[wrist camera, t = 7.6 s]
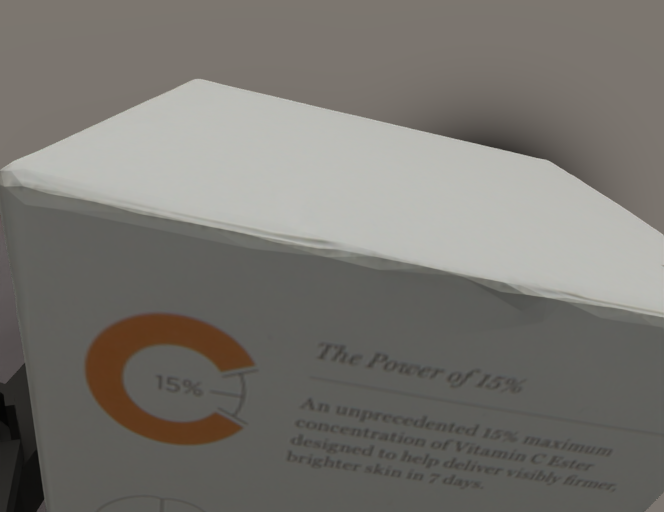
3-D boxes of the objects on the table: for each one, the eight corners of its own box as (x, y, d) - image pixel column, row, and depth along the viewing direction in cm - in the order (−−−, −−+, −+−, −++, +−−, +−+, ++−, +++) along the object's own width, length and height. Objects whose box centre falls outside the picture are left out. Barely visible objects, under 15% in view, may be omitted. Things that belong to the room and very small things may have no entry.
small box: (389, 498, 16) (557, 157, 10) (419, 756, 10) (851, 347, 4) (163, 466, 15) (191, 68, 9) (66, 731, 10) (-37, 163, 3)
